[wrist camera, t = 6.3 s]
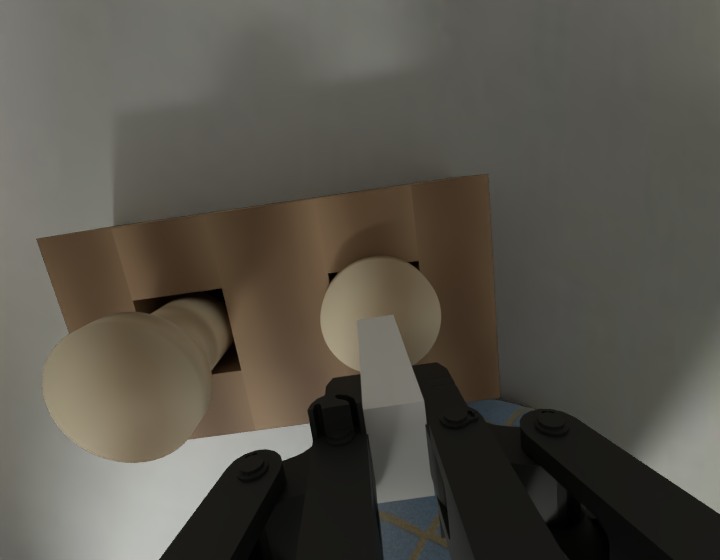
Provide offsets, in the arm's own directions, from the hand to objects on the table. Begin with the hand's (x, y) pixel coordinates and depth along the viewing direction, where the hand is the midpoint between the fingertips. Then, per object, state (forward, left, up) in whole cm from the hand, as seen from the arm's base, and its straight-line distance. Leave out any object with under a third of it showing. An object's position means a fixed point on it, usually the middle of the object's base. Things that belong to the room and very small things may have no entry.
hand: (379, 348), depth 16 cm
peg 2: (0, 0, -10) cm, 10 cm away
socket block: (-5, 0, -10) cm, 11 cm away
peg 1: (-10, 0, -6) cm, 11 cm away
